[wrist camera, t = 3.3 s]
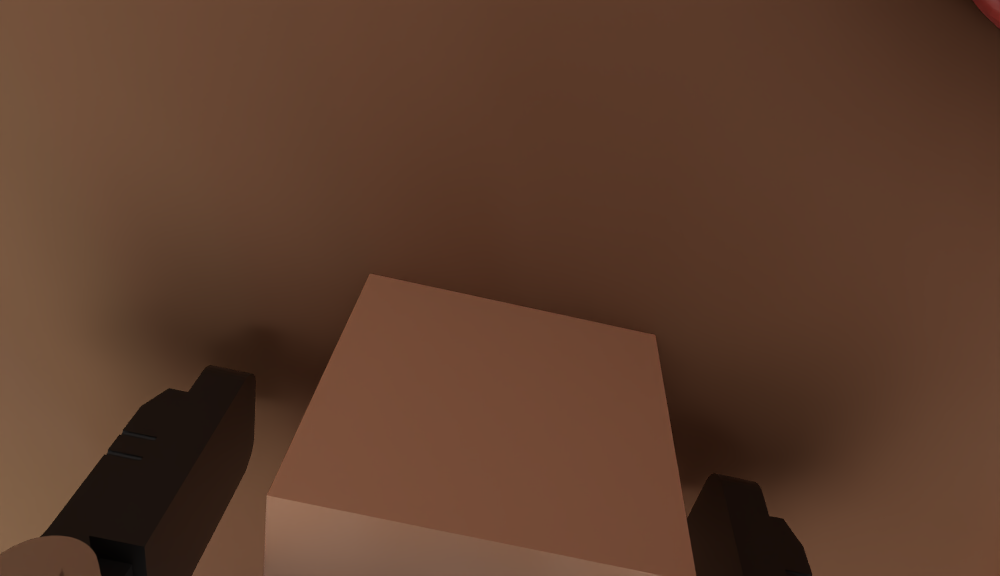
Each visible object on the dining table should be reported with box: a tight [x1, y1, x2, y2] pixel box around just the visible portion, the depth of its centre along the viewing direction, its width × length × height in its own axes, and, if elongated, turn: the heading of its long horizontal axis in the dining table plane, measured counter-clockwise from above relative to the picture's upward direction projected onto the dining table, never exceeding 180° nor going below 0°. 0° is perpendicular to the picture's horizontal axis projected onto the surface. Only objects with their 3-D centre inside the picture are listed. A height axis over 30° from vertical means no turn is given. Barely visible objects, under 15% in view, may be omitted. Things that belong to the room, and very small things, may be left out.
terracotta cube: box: [264, 274, 696, 576], centre depth 12 cm, size 5×5×5 cm
